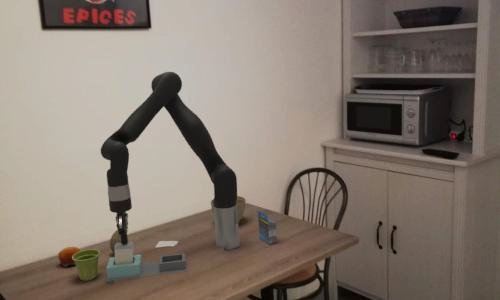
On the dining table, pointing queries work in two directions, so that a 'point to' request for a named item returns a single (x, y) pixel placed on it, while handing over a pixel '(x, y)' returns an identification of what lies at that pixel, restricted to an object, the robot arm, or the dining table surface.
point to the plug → (124, 253)
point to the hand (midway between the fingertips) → (124, 243)
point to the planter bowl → (240, 207)
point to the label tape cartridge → (266, 229)
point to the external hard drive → (166, 243)
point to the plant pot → (87, 263)
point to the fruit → (67, 255)
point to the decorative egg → (115, 240)
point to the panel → (146, 267)
